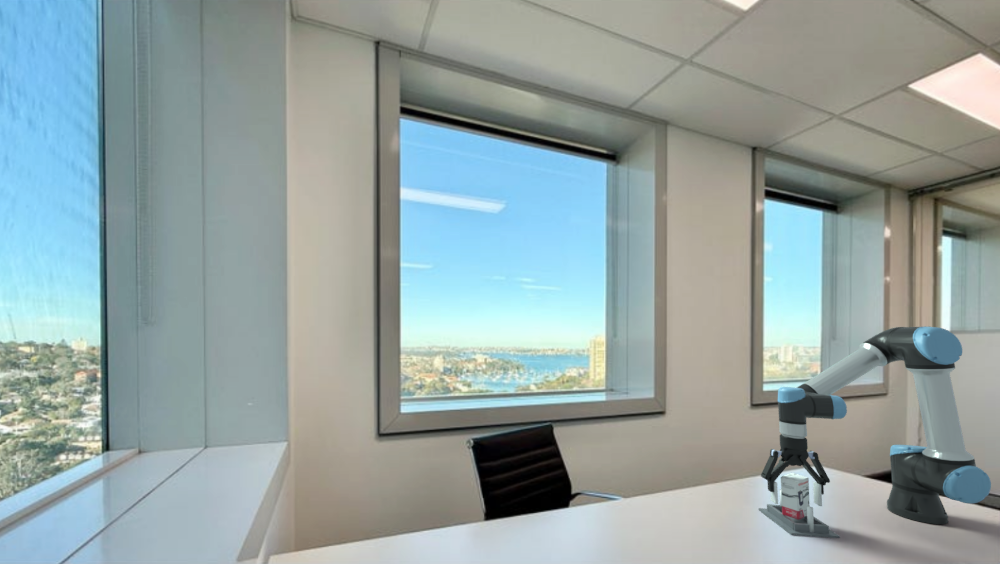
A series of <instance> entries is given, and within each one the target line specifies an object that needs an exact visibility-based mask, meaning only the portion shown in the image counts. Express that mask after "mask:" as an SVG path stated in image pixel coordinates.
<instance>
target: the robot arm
mask: <svg viewBox="0 0 1000 564" xmlns="http://www.w3.org/2000/svg"><path fill="white" fill-rule="evenodd" d="M962 355H963V347H962V343H961V341H960V339H959V338H958V337H957V336H956V335H955V334H954V333H953V332H951V331H949V330H947V329H946V328H942V327H936V326H896V327H892V328H888V329H885V330H883V331H881V332H880V333H878V334H875V335H873V336H872V337H870V338H868V339H866V340H865V341H863V342H862V343H860V344H859V347H858V349H857V350H855V351H853V352H851V354H849V355H847V356H845V357H844V358H842V359H841V360H839V361H837V362H835V363H834V364H833V365H831V366H829V367H828V368H826V369H823V371H822V372H820V373H818V374H816V375H815V376H813V377H812V378H810V379H808V380H807V381H805V382H804V383H802V384H800V385H799V386H797V387H792V386H781V387H779V388H778V390H777V405H778V406H777V409H778V423H779V424H778V425H779V426H778V428H779V429H778V430H779V433H780V435H779V445H780V446H779V447H780V450H776V449H774V448H771V449H770V450H769V456H768V459H767V461H766V463H765V465H764V468H763V469H762V472H761V474H760V477H761V478H763V479H764V480H767V491H769V492H770V501H771V502H772V503H774V505H779V495H778V494H779V493H778V492H779V491H778V490H779V489H778V482H776V481H777V479H778V478H779V477H780V475H781V474H782V473H783V472H784V470H785V469H787V468H788V467H790V466H791V467H795V466H797V467H803V468H804V469H805V471H807V473H808V474H809V475H810V476H811V477H812V478H813V479H814V481H812V487H813V489H812V490H813V493H812V494H813V503H814V504H816V505H817V506H818V507H823V497H822V496H823V495H824V494H825V493H824V492H825V489H824V486H826V485H827V484H829V483H830V482H831V480H830V478H829V476H828V474H827V472H826V471H825V469H824V467H823V465H822V463H821V461H820V459H819V454H818V452H815V451H813V450H809V451H808V439H807V438H806V437H808V428H807V418H808V419H826V420H827V419H828V420H841V419H843V418H845V417H846V415H847V412H848V409H847V408H848V407H847V403H846V401H845V400H844V399H843V398H842V397H841V396H838V395H833V394H834V393H836V392H838V391H839V390H841V389H843V388H845V387H846V386H847V385H849V384H851V383H853V382H854V381H856V380H858V379H859V378H861V377H863V376H864V375H866V374H868V373H869V372H870V371H872V370H874V369H875V368H877V367H885V366H887V365H888V364H890V363H894V362H899V361H903V362H904V366H905V367H904V368H905V369H906V370H907V371H909V372H910V373H911V374H912V376H913V380H914V384H915V391H916V397H917V401H918V406H919V411H920V416H921V421H922V426H923V431H924V435H925V441H926V446H923V445H922V446H921V445H913V444H912V445H911V444H893V445H891V446H890V452H889V459H890V470H891V471H890V472H891V484H892V485H891V486H892V487H891V490H890V493H889V496H888V499H887V500H886V509H887V510H888V511H890V512H891V513H893V514H895V515H898V516H900V517H903V518H906V519H909V520H913V521H917V522H920V523H921V522H922V523H926V524H930V525H931V524H932V525H945V524H946V525H947V524H948V523H949V516H948V513H947V512H946V509H945V507H944V505H943V502H942V499H941V498H940V495H942V496H944V497H946V498H948V499H950V500H953V501H957V502H961V503H964V504H970V505H971V504H972V505H973V504H978V503H980V502H981V501H983V500H985V498H986V497H988V496H989V494H990V493H991V488H992V482H991V478H990V477H989V475H988V474H987V472H985V471H984V470H983V469H982V468H980V467H978V466H977V465H976V460H975V456H974V455H973V454H971V453H970V452H968V450H966V445H965V441H964V436H963V431H962V427H961V421H960V415H959V412H958V407H957V401H956V397H955V392H954V389H953V383H952V377H951V373H952V372H953V371H954V370H955V369H956V365H955V363H957V362H958V361H959V360H960V358H961V356H962ZM808 458H809V459H810V461H811V463H812V465H813V466H814V468H815V470H816V471H815V470H814V469H813V467H812V466H811V464H810V463H809V461H808V460H807V459H808ZM778 459H779V460H778ZM777 462H778V463H777Z"/></svg>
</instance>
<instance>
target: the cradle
mask: <svg viewBox="0 0 1000 564" xmlns="http://www.w3.org/2000/svg"><path fill="white" fill-rule="evenodd" d="M758 511H759V512H761V513H762V514H763V515H765V516H766V517H767V518H768V519H769V520H771V521H772V522H773V523H774V524H776V525H778V526H779V528H781V529H783V530H784V531H786V533H787V534H789V535H790V536H799V537H801V536H802V537H815V538H830V539H831V538H833V539H841V537H840V536H841V535H839V534H837V533H835V532H834V531H832V529H830V527H829V525H827V524H826V523H824V522H823V521H822V520H820V519H818V518H817V517H815V516H814V508H813V506H807V516H805V517H803V518H801V519H799V520H797V519H795V518H792V517H789V516H786V515H783V514H782V495H781V489H780V488H779V504H771V503H769V504H768V503H767V504H766V508H761V507H760V508H759V507H758Z"/></svg>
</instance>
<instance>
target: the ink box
mask: <svg viewBox="0 0 1000 564" xmlns="http://www.w3.org/2000/svg"><path fill="white" fill-rule="evenodd" d="M809 479H810V478H809V477H807V476H805V475H801V474H797V473H795V472H790V473H788V474H785V475H781V477H780V488H781V495H782V514H783V515H786V516H789V517H792V518H795V519H797V520H799V519H801V518H803V517H805V516H807V506H810V505H811V503H810V482H809V481H810V480H809ZM810 507H811V506H810Z"/></svg>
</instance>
